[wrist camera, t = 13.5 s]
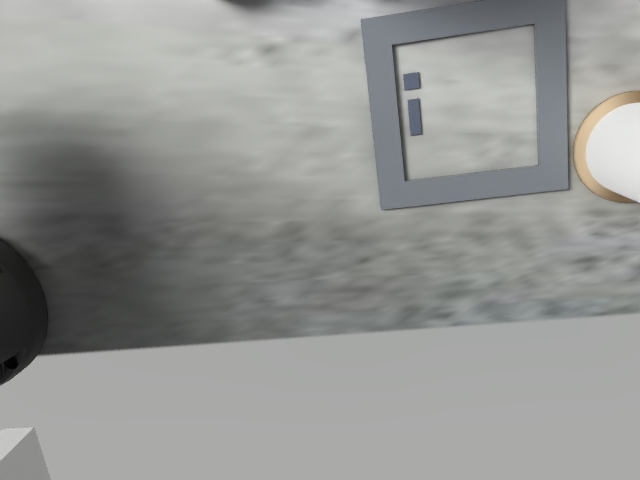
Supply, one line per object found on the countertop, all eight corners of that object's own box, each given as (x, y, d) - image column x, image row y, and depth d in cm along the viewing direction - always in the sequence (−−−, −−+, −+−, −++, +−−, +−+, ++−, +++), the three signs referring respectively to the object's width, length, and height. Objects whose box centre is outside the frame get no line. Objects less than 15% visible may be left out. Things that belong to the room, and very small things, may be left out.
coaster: (573, 206, 40) (576, 208, 40) (572, 99, 38) (575, 99, 38) (686, 194, 39) (690, 195, 39) (690, 83, 37) (695, 83, 37)
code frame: (381, 208, 42) (381, 209, 41) (360, 20, 38) (360, 19, 38) (566, 188, 40) (568, 188, 40) (563, -12, 37) (565, -13, 36)
